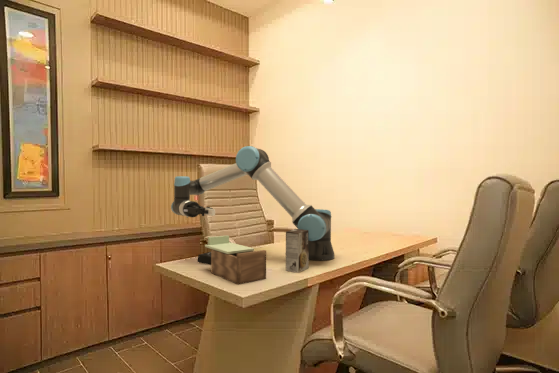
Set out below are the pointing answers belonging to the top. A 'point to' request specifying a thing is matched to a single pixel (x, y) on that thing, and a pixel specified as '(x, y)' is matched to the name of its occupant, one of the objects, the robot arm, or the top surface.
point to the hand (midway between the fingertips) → (213, 212)
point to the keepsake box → (239, 266)
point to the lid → (226, 245)
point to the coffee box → (297, 250)
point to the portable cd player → (205, 258)
